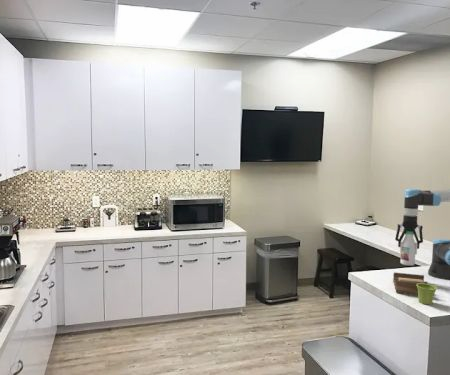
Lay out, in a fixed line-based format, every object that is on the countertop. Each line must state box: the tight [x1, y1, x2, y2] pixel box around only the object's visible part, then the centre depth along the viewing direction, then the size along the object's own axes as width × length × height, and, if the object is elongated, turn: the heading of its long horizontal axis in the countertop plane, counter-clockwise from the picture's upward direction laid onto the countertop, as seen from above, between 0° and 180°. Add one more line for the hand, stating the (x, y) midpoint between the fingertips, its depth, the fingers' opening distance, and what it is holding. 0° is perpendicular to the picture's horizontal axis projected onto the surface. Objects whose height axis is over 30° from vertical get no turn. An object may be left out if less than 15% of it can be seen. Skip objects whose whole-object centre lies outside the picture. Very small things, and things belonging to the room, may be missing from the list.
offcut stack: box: [398, 278, 424, 283], centre depth 221 cm, size 4×13×8 cm, turn 73°
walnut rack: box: [392, 271, 428, 297], centre depth 226 cm, size 20×16×7 cm
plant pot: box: [416, 283, 438, 306], centre depth 207 cm, size 9×9×9 cm
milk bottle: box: [400, 231, 416, 266], centre depth 241 cm, size 8×8×20 cm
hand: (408, 253), depth 241 cm, fingers closed on milk bottle, 7 cm apart
